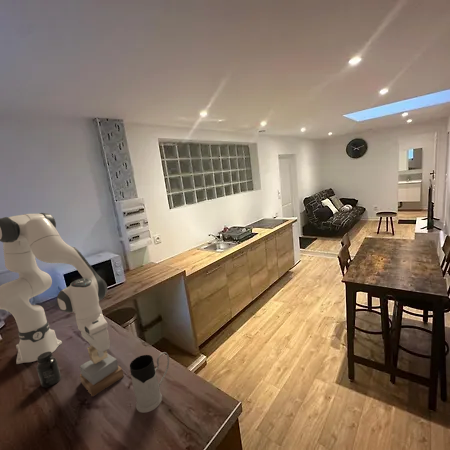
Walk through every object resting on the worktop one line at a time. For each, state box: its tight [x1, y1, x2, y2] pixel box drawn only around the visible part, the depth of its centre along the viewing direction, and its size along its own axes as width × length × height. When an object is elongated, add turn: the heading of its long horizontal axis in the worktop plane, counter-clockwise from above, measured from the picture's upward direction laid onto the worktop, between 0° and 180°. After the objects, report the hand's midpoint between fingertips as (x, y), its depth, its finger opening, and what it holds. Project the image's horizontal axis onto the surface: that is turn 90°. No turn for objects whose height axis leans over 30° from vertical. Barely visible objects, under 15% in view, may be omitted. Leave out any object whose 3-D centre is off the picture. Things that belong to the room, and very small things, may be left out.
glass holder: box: [129, 351, 170, 413], centre depth 89 cm, size 9×14×15 cm, turn 135°
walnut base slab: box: [79, 365, 125, 397], centre depth 102 cm, size 12×12×4 cm
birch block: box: [86, 345, 108, 364], centre depth 101 cm, size 5×5×5 cm
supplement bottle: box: [36, 352, 62, 388], centre depth 104 cm, size 7×7×12 cm
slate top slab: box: [79, 352, 119, 385], centre depth 101 cm, size 10×10×4 cm
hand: (97, 353), depth 101 cm, fingers closed on birch block, 5 cm apart
